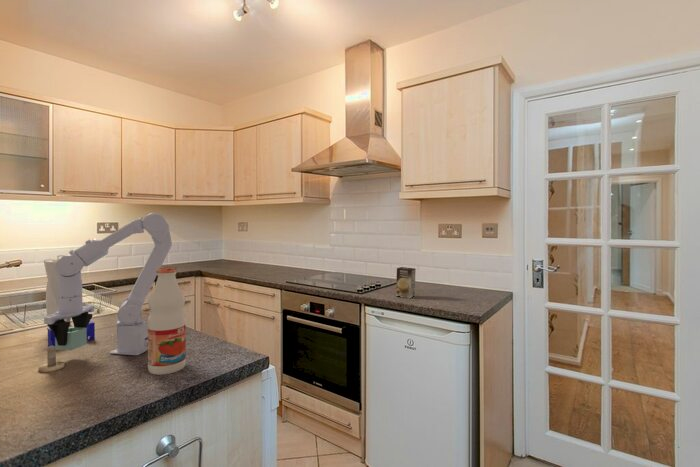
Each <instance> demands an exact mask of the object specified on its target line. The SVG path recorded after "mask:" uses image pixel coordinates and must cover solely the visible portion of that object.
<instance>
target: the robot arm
mask: <svg viewBox="0 0 700 467" xmlns="http://www.w3.org/2000/svg"><path fill="white" fill-rule="evenodd" d="M145 231H146V232H147V233H148V234H149V236H151V239H152V241H153V243H154V246H153V248H152V249H151V252H150V254H149V255H148V258H147V259H146V262H145V264H144V265H143V268H142V269H141V271H140V273H139V275H138V276H137V277H138V278H137V279H136V281H135V283H134V285H133V287H132V288H131V291H130V293H128V296H127V297H126V299H124V300H123V301H122V302H121V303H120V304H119V307H118V311H117V315H116V316H117V319H118V320H117V321H116V349H113V350H111V351H110V352H109V354H112V355H128V356H139V355H141V354H143V353H144V352H148V322H145V321H144V317H142V312H143V311H142V308H143V306H144V303H145V300H146V299H147V295H148V294H149V292H150V289H151V288H152V286H153V284H154V282H155V280H156V277H158V275H157V269H158V268H162V266H163V263H164V261H165V260H166V258H167V256H168V254H169V252H170V249H171V248H172V245H173V244H172V243H173V242H172V236H171V232H170V226H169V224H168V222H167V220H166V219H165V217H164V216H163V215H162V214H160V213H157V212H151V213H149V214H146V215H145V216H144V217H143V216H142V217H140V218H138V219H137V218H136V219H134V220H132V221H130V222H128V223H127V224H125V225H123V226H122V227H121V228H118V229H117V230H115V231H114V232H112V233H111V234H109V235H107V236H106V237H105V238H102V239H98V238H94V239H92V240H91V239H87V240H86V241H85V242H84V243H85V244H83V245H81V246H79V247H78V248H76V249H75V250H74V249H72V250H70V251H68V253H69V254H68V255H67V254H66V255H65V256H61V257H60V258H59V260H58V261H57V263H56V266H55V267H56V271H57V272H58V311H56V313H54V314H52V315H50V316H47V315H46V316H44V317H43V325H47V328H48V327H49V328H50V329H51V330H52V332H53V333H54V335H55V338H56V340H57V343H58V345H59V346H65V345H66V344H67V334H68V329H69V326H70V323H73V327H81V328H87V326H88V323H89V322H90V321H92V318H93V312H95V305H93V304H91V305H90V304H89V305H84V303H83V301H84V300H83V279H82V270H83V268H84V267H89V266H90V265H92V264H94V263H96V262H97V261H98V260H100V259H102V258H103V257H105V256H107V255H108V253H109V249H110V248H111V247H114V246H115V245H116V244H118V243H120V242H121V241H123V240H125V239H127V238H128V237H131V236H132V235H135V234H143V233H144V232H145ZM68 318H71V321H72V322H65V321H64V320H65V319H68Z"/></svg>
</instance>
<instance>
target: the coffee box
mask: <svg viewBox="0 0 700 467" xmlns="http://www.w3.org/2000/svg"><path fill="white" fill-rule="evenodd" d="M416 270H417V269H416V268H415V267H413V268H412V267H406V266H405V267H404V266H401V267H396V287H395V289H396V290H395V291H396V292H395V297H396V296H403V297H410V298H411V297H413V296H416V273H417V272H416ZM413 298H414V297H413ZM411 299H412V298H411Z"/></svg>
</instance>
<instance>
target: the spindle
mask: <svg viewBox="0 0 700 467" xmlns="http://www.w3.org/2000/svg"><path fill="white" fill-rule="evenodd" d="M46 349H47V350H46V352H47V353H46V354H47V355H46V356H47V357H46V358H47V360H46V361H47V362H46V363H43V364H41V365H39V367H38V368H37V369H38V372H39V373H51V372H55V371H56V372H57V371H59V370H62V369H63V368H64V367H66V366H65V362H64V361H57V356H56V355H57V353H56V352H57V351H56V350H57V349H56V347H55V346H49V347H48V346H47V348H46Z"/></svg>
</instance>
